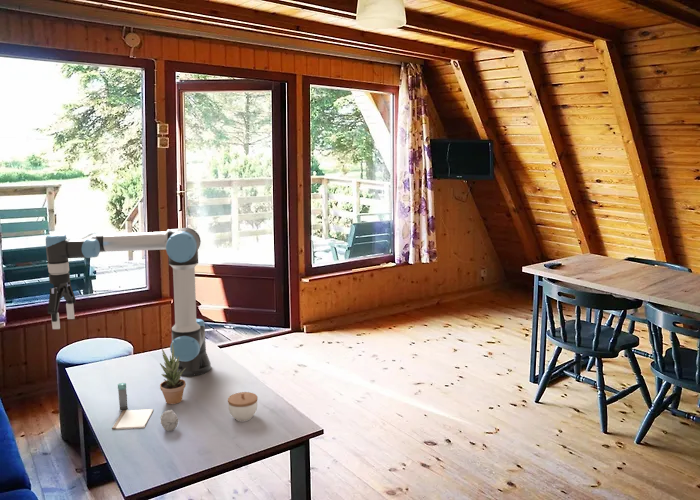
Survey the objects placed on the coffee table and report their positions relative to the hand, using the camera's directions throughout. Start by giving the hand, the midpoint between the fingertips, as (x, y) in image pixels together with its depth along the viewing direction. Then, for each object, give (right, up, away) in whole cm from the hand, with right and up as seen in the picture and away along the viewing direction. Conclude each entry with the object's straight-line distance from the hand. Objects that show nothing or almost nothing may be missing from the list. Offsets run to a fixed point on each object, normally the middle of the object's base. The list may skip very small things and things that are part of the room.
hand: (63, 323), depth 241 cm
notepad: (+37, -32, -25) cm, 55 cm away
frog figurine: (+53, -34, -32) cm, 71 cm away
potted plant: (+48, -29, -9) cm, 57 cm away
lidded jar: (+77, -32, -23) cm, 87 cm away
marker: (+30, -31, -16) cm, 46 cm away
